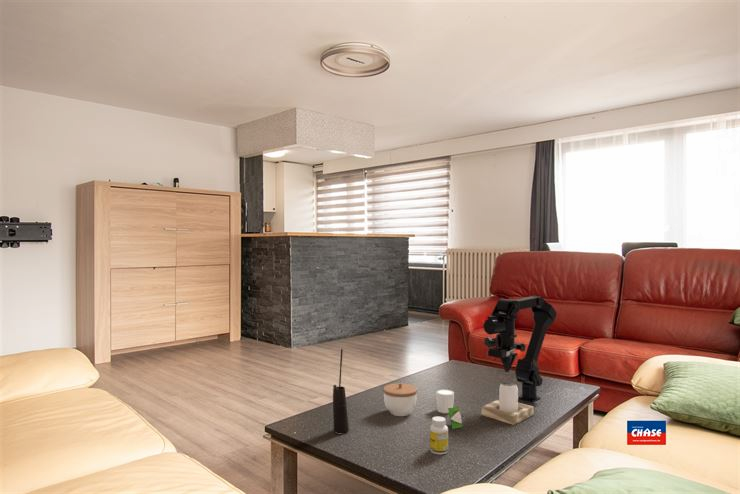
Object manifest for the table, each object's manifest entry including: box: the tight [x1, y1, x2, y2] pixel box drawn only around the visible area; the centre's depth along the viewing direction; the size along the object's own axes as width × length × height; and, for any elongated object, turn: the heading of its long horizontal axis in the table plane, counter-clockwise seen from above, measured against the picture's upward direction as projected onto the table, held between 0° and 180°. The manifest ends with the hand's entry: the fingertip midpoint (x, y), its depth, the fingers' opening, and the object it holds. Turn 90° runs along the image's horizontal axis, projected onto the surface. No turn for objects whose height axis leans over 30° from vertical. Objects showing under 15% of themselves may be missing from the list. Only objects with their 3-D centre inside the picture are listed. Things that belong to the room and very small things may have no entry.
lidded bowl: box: [382, 382, 418, 417], centre depth 171 cm, size 13×13×11 cm
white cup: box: [435, 389, 455, 414], centre depth 173 cm, size 7×7×7 cm
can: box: [498, 380, 519, 413], centre depth 167 cm, size 6×6×12 cm
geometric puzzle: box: [446, 406, 466, 430], centre depth 158 cm, size 7×7×8 cm
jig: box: [481, 399, 535, 426], centre depth 169 cm, size 14×13×3 cm
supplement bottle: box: [429, 416, 449, 455], centre depth 139 cm, size 5×5×10 cm
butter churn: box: [332, 348, 350, 434], centre depth 155 cm, size 9×10×28 cm
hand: (506, 371), depth 179 cm, fingers closed
